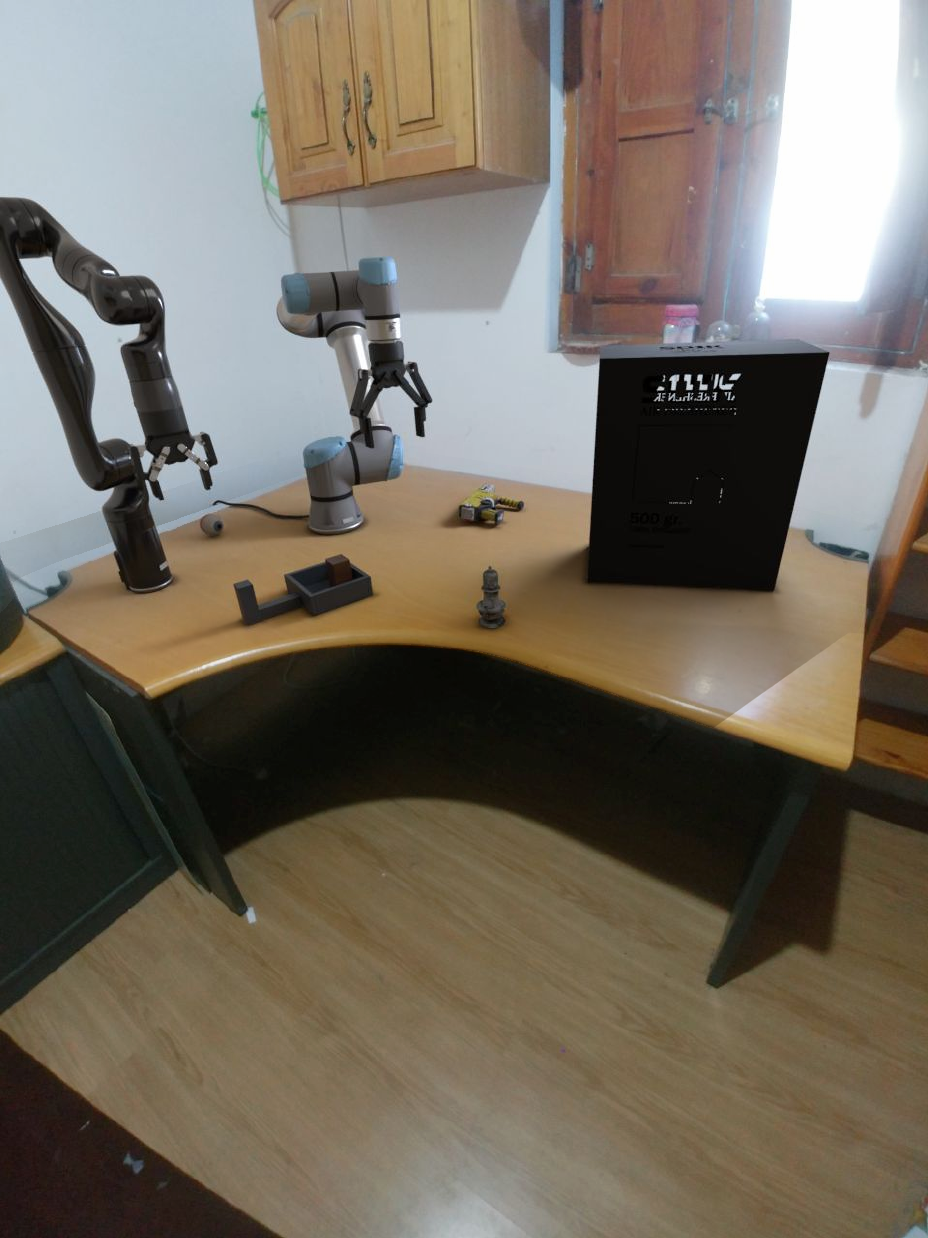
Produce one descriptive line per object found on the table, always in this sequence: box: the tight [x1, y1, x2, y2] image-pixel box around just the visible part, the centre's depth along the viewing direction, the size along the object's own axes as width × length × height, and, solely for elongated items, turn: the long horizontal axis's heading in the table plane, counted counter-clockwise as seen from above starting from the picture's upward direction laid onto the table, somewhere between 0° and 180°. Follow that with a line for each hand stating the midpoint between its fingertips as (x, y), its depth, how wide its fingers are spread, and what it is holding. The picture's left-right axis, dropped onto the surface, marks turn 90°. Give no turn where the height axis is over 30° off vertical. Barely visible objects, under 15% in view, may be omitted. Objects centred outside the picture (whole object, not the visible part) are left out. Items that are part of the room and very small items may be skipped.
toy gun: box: [457, 482, 525, 525], centre depth 171 cm, size 5×24×15 cm
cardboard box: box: [586, 338, 831, 592], centre depth 124 cm, size 38×20×45 cm, turn 78°
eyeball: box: [199, 513, 225, 537], centre depth 166 cm, size 6×6×6 cm
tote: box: [232, 561, 374, 627], centre depth 128 cm, size 26×14×8 cm, turn 126°
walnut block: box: [324, 553, 353, 588], centre depth 132 cm, size 4×4×7 cm
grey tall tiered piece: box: [475, 565, 507, 629], centre depth 116 cm, size 6×6×12 cm
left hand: (185, 494), depth 115 cm, fingers open, 8 cm apart
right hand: (395, 441), depth 139 cm, fingers open, 13 cm apart
